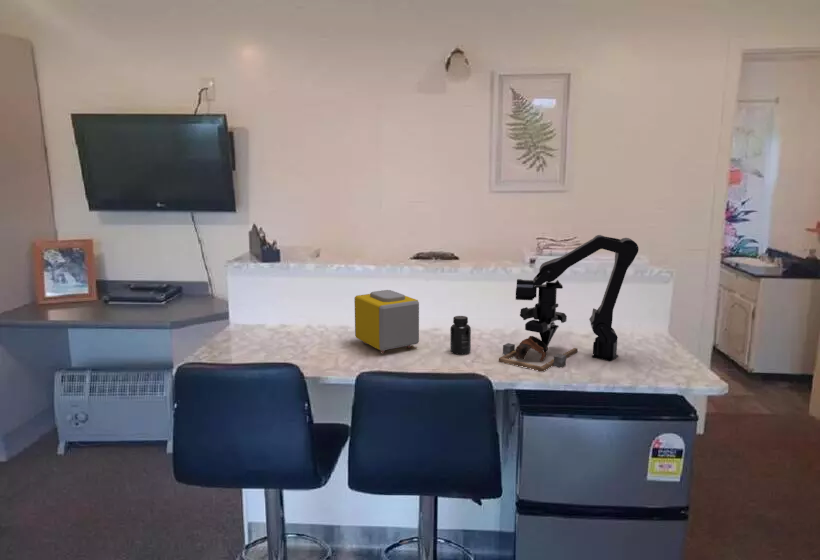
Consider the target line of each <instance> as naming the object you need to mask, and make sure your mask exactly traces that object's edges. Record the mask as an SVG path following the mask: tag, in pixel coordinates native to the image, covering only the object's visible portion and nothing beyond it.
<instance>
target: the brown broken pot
mask: <svg viewBox="0 0 820 560" xmlns="http://www.w3.org/2000/svg"><path fill="white" fill-rule="evenodd" d="M536 343H538V344H536ZM530 346H532V347H531V348H530ZM531 349H533V350H534V351H535V352H538V353H539V354H541V357H540V358H539V361H540V362H544V360H545V358H547V353H548V352H547V351H548V350H549V346H547V345H546V344H545V343H544V342H543V341H542V340H541V338H538V337H536V336H534V335H530V336H528V338H524V339H523V340H521V341H520V342H519V344H518V345H517V346H515V350H516V354H515V356H514V357H515V359H516V360H519V359H521V360H525V357H526V355H527V354H528V353H529V352H530V350H531Z"/></svg>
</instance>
